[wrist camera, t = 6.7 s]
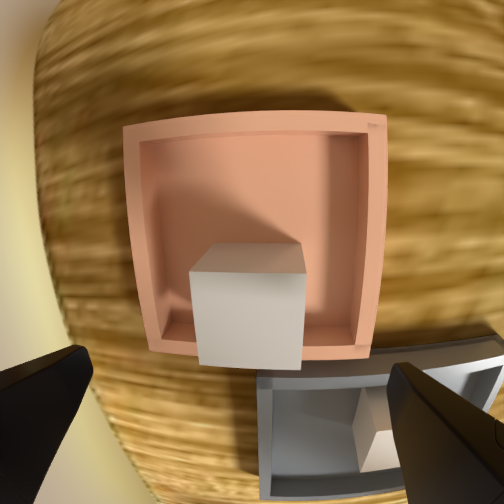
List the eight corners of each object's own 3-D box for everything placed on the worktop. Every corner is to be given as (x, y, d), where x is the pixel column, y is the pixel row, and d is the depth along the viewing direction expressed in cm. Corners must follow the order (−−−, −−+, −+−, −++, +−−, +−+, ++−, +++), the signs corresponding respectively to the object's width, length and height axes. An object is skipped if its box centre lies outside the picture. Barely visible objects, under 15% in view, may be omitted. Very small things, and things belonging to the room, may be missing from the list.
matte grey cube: (301, 243, 14) (306, 273, 10) (298, 321, 15) (300, 370, 11) (214, 242, 14) (188, 271, 10) (219, 318, 15) (199, 365, 12)
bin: (498, 334, 15) (515, 352, 12) (437, 460, 18) (443, 479, 16) (260, 350, 16) (256, 376, 14) (262, 477, 20) (259, 499, 18)
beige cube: (423, 376, 15) (445, 420, 11) (406, 419, 16) (421, 462, 12) (363, 382, 16) (376, 431, 12) (352, 425, 17) (359, 472, 13)
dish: (370, 122, 12) (386, 115, 10) (359, 332, 15) (368, 358, 13) (146, 130, 14) (122, 126, 11) (165, 328, 17) (149, 351, 14)
